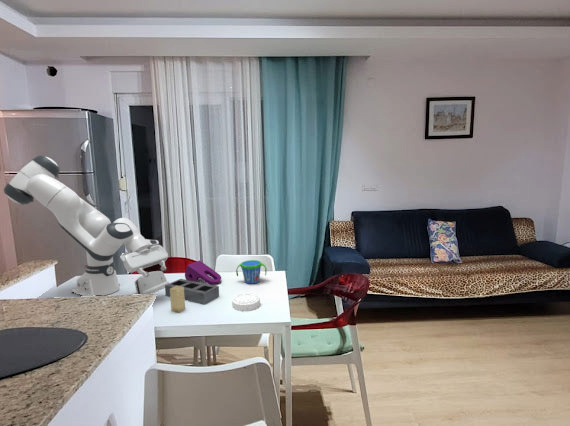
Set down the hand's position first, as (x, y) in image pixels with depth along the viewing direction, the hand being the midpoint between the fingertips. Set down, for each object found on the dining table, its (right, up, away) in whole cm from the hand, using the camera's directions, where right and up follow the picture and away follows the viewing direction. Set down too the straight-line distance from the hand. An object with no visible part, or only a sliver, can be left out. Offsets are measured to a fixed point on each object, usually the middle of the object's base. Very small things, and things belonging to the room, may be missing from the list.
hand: (156, 273), depth 150 cm
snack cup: (+39, -10, +30) cm, 50 cm away
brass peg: (+11, -15, -3) cm, 19 cm away
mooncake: (+39, -15, +1) cm, 42 cm away
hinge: (-10, -12, +21) cm, 26 cm away
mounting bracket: (+14, -10, +31) cm, 36 cm away
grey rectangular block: (+12, -13, +12) cm, 22 cm away
